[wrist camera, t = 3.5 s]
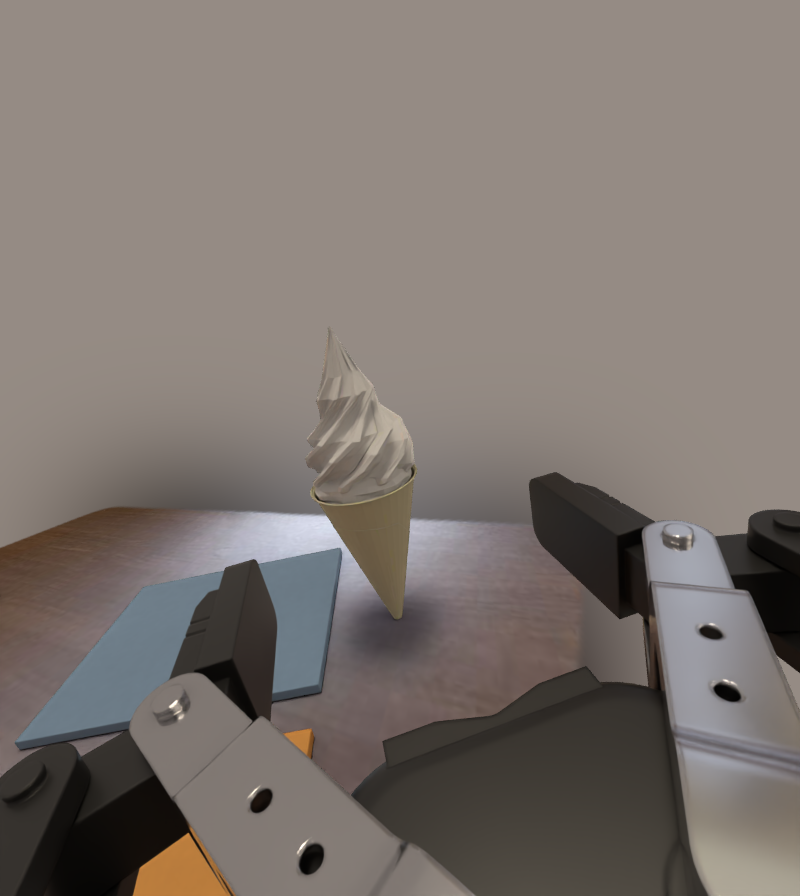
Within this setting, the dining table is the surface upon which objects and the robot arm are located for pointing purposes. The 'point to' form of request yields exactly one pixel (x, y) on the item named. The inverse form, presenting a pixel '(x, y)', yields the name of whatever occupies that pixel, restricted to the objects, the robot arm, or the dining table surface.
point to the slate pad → (160, 638)
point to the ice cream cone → (363, 473)
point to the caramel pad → (192, 857)
